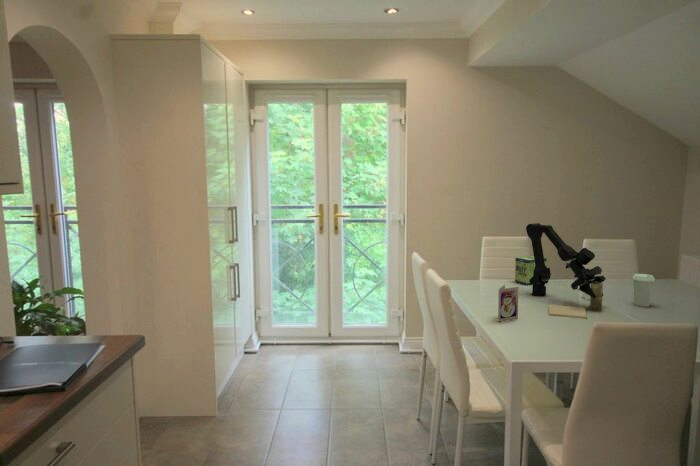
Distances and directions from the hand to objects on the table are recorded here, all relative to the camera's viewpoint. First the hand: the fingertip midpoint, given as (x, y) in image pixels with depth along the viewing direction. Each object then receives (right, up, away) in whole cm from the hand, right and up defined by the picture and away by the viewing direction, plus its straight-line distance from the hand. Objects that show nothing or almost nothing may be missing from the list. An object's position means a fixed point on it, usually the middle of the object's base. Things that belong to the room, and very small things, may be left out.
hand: (599, 297), depth 222 cm
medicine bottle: (+8, -4, +23) cm, 25 cm away
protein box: (-8, 0, +63) cm, 63 cm away
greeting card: (-49, -9, -10) cm, 51 cm away
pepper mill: (0, -6, +2) cm, 7 cm away
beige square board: (-16, -7, -1) cm, 17 cm away
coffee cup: (+26, -5, +9) cm, 28 cm away
